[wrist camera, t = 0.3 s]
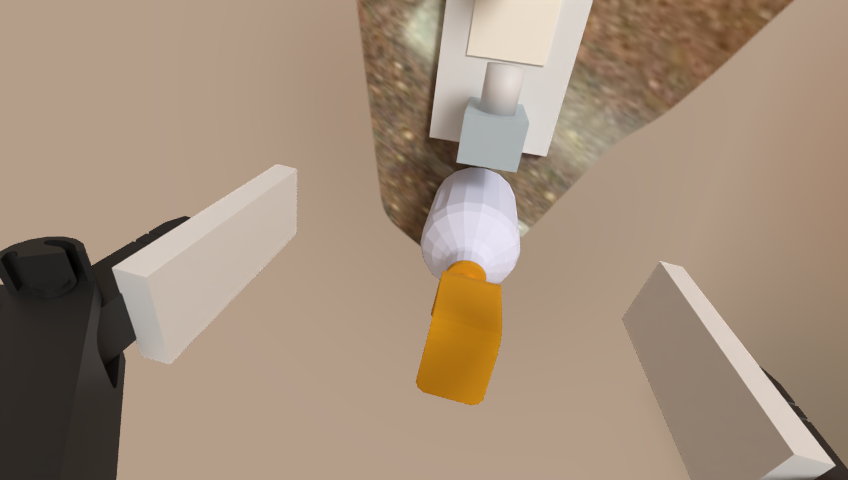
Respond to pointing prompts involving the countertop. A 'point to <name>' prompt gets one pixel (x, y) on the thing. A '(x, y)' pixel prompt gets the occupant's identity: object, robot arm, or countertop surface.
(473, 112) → the shaft rig
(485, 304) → the soap bottle
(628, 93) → the countertop surface
